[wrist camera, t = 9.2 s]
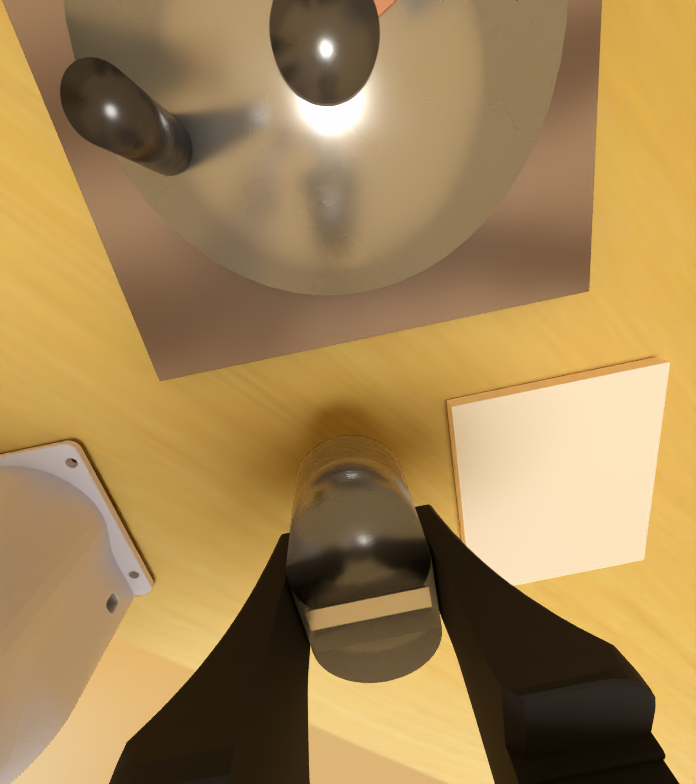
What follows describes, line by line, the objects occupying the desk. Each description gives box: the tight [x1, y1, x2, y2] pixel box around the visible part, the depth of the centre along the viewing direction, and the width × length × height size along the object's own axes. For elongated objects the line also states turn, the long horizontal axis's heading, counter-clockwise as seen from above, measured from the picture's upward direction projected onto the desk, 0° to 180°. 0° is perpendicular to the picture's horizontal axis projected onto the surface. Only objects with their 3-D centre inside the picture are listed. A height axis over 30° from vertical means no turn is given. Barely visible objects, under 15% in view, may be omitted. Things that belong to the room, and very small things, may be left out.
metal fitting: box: [286, 435, 442, 683], centre depth 13 cm, size 7×4×4 cm, turn 11°
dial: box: [60, 0, 568, 296], centre depth 9 cm, size 14×14×5 cm
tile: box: [446, 357, 670, 586], centre depth 19 cm, size 12×10×1 cm
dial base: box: [2, 0, 602, 381], centre depth 12 cm, size 18×18×2 cm
